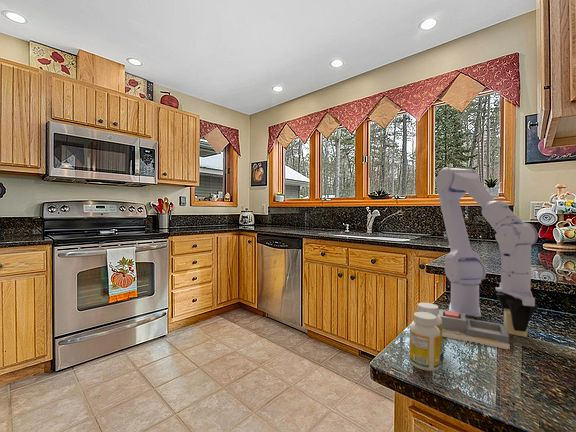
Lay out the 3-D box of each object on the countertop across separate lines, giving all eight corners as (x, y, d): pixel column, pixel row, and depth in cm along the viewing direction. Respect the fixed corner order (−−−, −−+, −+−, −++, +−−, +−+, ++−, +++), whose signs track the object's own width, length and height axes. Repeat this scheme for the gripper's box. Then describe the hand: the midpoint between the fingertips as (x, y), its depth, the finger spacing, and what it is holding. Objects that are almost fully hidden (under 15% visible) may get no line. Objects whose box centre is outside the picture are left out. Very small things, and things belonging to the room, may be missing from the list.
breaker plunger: (445, 322, 72) (445, 310, 72) (458, 324, 71) (458, 312, 71) (444, 326, 70) (444, 314, 70) (458, 328, 68) (458, 316, 68)
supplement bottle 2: (416, 371, 52) (417, 320, 52) (404, 357, 57) (405, 310, 57) (446, 372, 52) (446, 320, 52) (431, 357, 57) (431, 310, 57)
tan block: (503, 327, 72) (503, 308, 72) (523, 331, 70) (523, 311, 70) (506, 333, 69) (506, 313, 69) (527, 337, 67) (527, 316, 67)
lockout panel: (436, 321, 76) (437, 306, 76) (503, 333, 69) (503, 317, 69) (433, 334, 68) (434, 318, 68) (509, 350, 60) (509, 331, 60)
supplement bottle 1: (445, 358, 57) (446, 310, 57) (417, 355, 58) (417, 308, 58) (437, 346, 62) (437, 302, 62) (411, 343, 63) (411, 300, 63)
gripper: (486, 265, 78) (486, 314, 78) (508, 276, 64) (507, 335, 64) (517, 267, 75) (517, 317, 76) (546, 279, 62) (546, 340, 62)
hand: (515, 326), depth 70 cm, fingers closed on tan block, 5 cm apart
